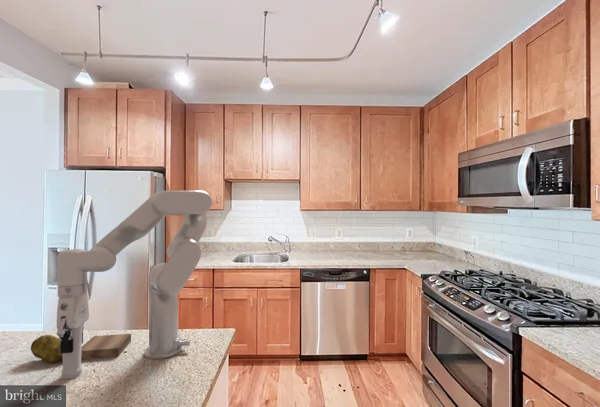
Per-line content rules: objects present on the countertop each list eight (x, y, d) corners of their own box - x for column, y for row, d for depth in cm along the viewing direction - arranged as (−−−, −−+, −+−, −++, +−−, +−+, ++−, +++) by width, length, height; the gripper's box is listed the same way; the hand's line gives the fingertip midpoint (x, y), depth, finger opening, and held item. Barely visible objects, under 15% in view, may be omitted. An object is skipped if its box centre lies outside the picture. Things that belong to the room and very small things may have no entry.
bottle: (68, 371, 100) (69, 292, 101) (85, 370, 101) (86, 291, 101) (57, 380, 95) (58, 296, 95) (75, 379, 95) (76, 296, 96)
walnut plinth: (130, 341, 123) (130, 333, 123) (118, 356, 110) (118, 348, 110) (94, 344, 120) (94, 336, 120) (76, 360, 108) (76, 351, 108)
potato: (49, 369, 101) (49, 344, 101) (25, 362, 106) (26, 338, 106) (76, 358, 109) (76, 335, 109) (53, 351, 114) (53, 329, 114)
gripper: (71, 296, 91) (71, 360, 90) (98, 282, 107) (97, 336, 107) (42, 297, 89) (41, 362, 89) (73, 283, 106) (72, 338, 106)
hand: (72, 347), depth 98 cm, fingers closed on bottle, 5 cm apart
